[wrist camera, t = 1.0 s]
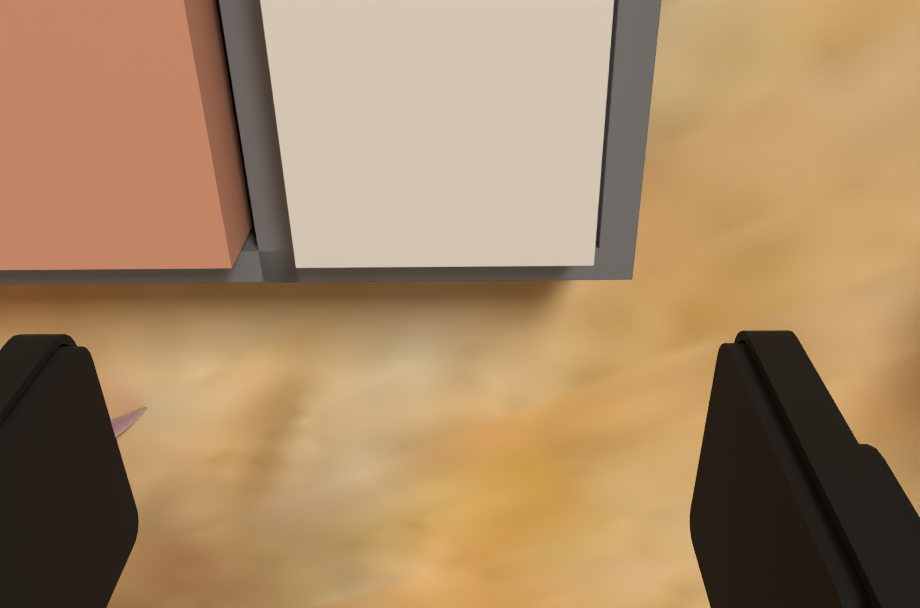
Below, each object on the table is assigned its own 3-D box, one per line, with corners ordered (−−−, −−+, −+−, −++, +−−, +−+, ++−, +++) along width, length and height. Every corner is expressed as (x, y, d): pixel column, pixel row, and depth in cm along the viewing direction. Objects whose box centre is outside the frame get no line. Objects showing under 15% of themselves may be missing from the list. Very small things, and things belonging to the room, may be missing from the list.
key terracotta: (252, 225, 25) (231, 268, 22) (-16, 228, 25) (-62, 270, 23) (201, -95, 20) (169, -79, 18) (-125, -89, 20) (-194, -73, 18)
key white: (583, 223, 24) (593, 266, 22) (311, 225, 25) (295, 267, 22) (604, -101, 20) (620, -86, 18) (273, -95, 20) (249, -80, 18)
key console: (610, 211, 28) (632, 279, 24) (7, 216, 28) (-65, 284, 25) (642, -173, 22) (678, -163, 18) (-115, -160, 23) (-234, -147, 19)
